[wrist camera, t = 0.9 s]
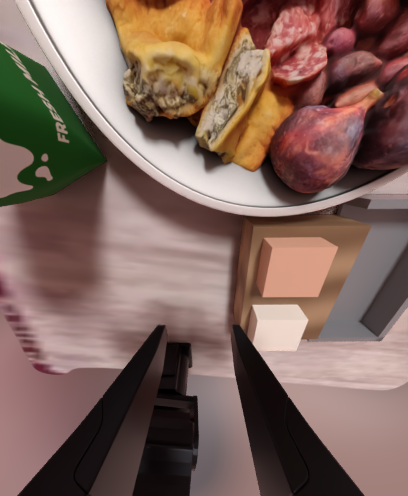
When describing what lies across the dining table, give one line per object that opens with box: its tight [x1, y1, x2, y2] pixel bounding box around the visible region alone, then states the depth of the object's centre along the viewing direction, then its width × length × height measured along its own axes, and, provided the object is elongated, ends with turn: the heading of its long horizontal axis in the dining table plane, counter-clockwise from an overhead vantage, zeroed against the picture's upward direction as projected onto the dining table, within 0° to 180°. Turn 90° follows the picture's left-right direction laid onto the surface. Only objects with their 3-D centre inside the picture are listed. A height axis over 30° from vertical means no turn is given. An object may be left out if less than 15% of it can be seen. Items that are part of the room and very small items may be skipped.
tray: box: [307, 194, 408, 342], centre depth 19 cm, size 19×10×3 cm, turn 1°
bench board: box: [233, 214, 372, 339], centre depth 18 cm, size 15×10×4 cm, turn 1°
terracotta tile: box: [256, 237, 338, 297], centre depth 14 cm, size 5×5×2 cm
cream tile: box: [247, 305, 308, 351], centre depth 17 cm, size 5×5×2 cm
